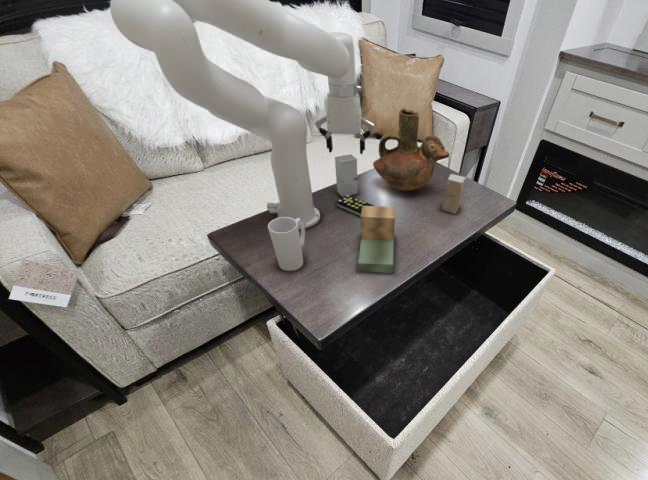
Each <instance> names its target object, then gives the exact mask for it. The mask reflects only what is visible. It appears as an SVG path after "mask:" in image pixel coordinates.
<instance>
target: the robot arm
mask: <svg viewBox="0 0 648 480" xmlns="http://www.w3.org/2000/svg"><path fill="white" fill-rule="evenodd" d="M109 9H110V15H111V18H112V21H113V23H114V25H115V27H116V29H117V30H118V31H119V32H120V34H122V36H123V37H124V38H126V39H127V40H128V41H129V42H130V43H132V44H134V45H135V46H137V47H139V48H141V49H144V50H147V51H148V52H152V53H153V54H154V55H155V57H156V60H157V62H158V66H159V68H160V70H161V72H162V74H163V76H164V77H165V79H166V80H167V82H168V83H169V85H170V87H172V89H173V90H174V91H175V92H176V93H177V94H178V95H179V96H181V97H182V98H184V99H185V100H187V101H189V102H190V103H193V104H194V105H196V106H198V107H200V108H202V109H205V110H206V111H208V112H209V113H210V114H211V115H212V116H214V117H215V118H217V119H219V120H222V121H224V122H227V123H229V124H231V125H233V126H236V127H238V128H240V129H243V130H244V131H247V132H249V133H251V134H253V135H256V136H259V137H261V138H263V139H265V140H267V141H269V142H270V143H271V153H270V165H271V171H272V174H273V178H274V179H273V180H274V183H275V187H276V191H277V197H278V201H279V202H277V203H276V202H275V203H274V202H266V208H267V210H268V212H269V214H277V217H276V218H280V217H290V218H293V219H295V220H296V219H297V218H300V220H301V222H302V223H303V225H304V228H305V229H308V228H311V227H313V226H314V225H316V224H318V222H320V219H321V212H320V210H319V209H318V208H317V207H315V205H314V198H313V192H312V191H313V189H312V182H311V176H310V169H309V162H308V154H307V137H308V125H307V121H306V119H305V116H303V114H302V113H301V111H299V110H298V109H297V108H295V107H294V106H292V105H290V104H288V103H285V102H282V101H279V100H277V99H274V98H271V97H268V96H266V95H263V93H262V92H261V91H260V90H259V89H258V88H256V87H255V86H254V85H253V84H251V83H249V82H248V81H247V80H244V79H242V78H240V77H237V76H235V75H233V74H232V73H230V72H228V71H226V70H225V69H224V68H222V67H220V66H219V65H218V64H215V63H214V62H213V61H211V60H209V58H208V57H207V56H206V54H205V52H204V50H203V48H202V44H201V41H200V37H199V34H198V32H197V31H198V30H197V29H196V26H195V23H197V22H200V23H204V24H208V25H210V26H213V27H215V28H217V29H220V30H222V31H223V32H226V33H228V34H230V35H232V36H234V37H236V38H238V39H240V40H243V41H244V42H246V43H248V44H250V45H253V46H255V47H256V48H259V49H261V50H262V51H264V52H268V53H270V54H272V55H274V56H278V57H280V58H283V59H289V60H292V61H296V62H297V64H298V65H299V66H300V67H301V68H302V69H304V70H306V71H308V72H312V73H315V74H318V75H322V76H324V77H327V86H328V92H327V93H326V101H325V104H326V105H325V106H326V107H325V109H326V110H325V113H326V114H325V115H324V116H322V117H321V118H318V119H316V120H315V122H314V125H315V126H316V128H317V130H318V132H319V133H320V134H321V135H322V136H323V138H324V139H325V143H326V149H327V150H328V152H329V153H332V152H333V149H334V147H333V137H332V134H340V135H357V136H358V138H359V154H360V155H363V154H364V151H366V140H367V138H368V137H370V135H371V134H372V132H373V130H374V126H375V124H374V123H373V122H371V121H369V120H368V119H366V118H364V117H363V116H362V115H363V114H362V105H361V100H360V99H361V98H360V94H358V93H359V92H362V86H361V85H359V84H357V81H356V56H355V40H354V38H353V36H352V35H351V34H349V33H348V32H347V33H346V32H341V31H339V32H327V31H326V30H324V29H322V28H320V26H317V25H315V24H313V23H311V22H310V21H307V20H305V19H304V18H302V17H300V16H297V15H296V14H294V13H293V12H291V11H289V10H287V9H285V8H283V7H281V6H279V5H277V4H276V3H274V2H272V1H271V0H110V4H109ZM325 123H326V128H327V130H326V128H324V126H323V124H325ZM363 126H365V127H366V128H367V129H366V131H363V129H362V128H363ZM298 230H301V229H300V227H299V226H298Z"/></svg>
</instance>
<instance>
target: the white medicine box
mask: <svg viewBox="0 0 648 480" xmlns="http://www.w3.org/2000/svg"><path fill="white" fill-rule="evenodd" d="M334 166H335V181H336V193H337V194H338V195H339V196H340V197H341V198H343V197H344V196H346V195H349V196H355V195H357V194H359V193H358V192H359V191H358V187H359V186H358V159H357V158H356V157H355V156H354V155H352V154H351V153H350V154H343V155H339V156H335V157H334Z"/></svg>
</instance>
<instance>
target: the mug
mask: <svg viewBox="0 0 648 480" xmlns="http://www.w3.org/2000/svg"><path fill="white" fill-rule="evenodd" d="M298 226H299V227H300V229H298ZM267 228H268V233H269V236H270V239H271V243H272V246H273V250H274V253H275V257H276V260H277V264H278V267H279V268H280V269H281V270H283V271H287V272H293V271H296V270H299V269H301V267H303V265H304V255H303V251H302V250H303V249H302V247H304V246H305V239H306V228H304V225H303V223H302V222H301V220H300V218H297V219H296V220H295V219H293V218H290V217H280V218H277V217H276V218H274V219H272V220H270V221H269V222H268V224H267Z"/></svg>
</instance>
